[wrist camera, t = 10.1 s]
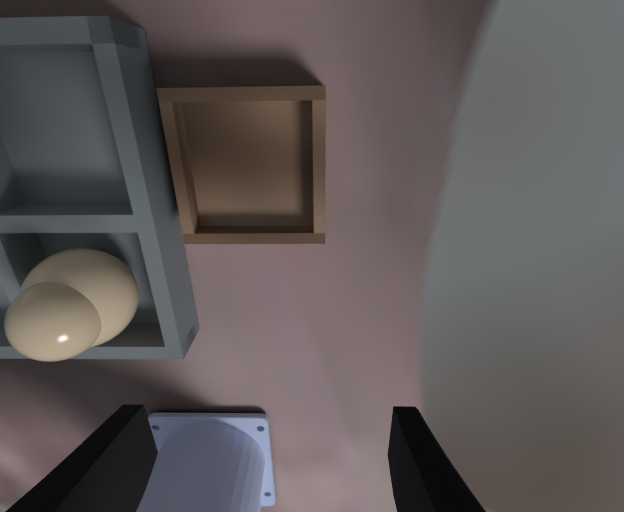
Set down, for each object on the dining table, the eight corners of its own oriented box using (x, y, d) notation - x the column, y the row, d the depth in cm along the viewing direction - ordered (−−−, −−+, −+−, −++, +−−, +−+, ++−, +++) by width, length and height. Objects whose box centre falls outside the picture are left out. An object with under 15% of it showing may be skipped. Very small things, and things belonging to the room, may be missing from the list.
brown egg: (162, 311, 19) (103, 391, 14) (80, 311, 19) (-9, 391, 14) (144, 233, 17) (68, 292, 12) (53, 233, 17) (-62, 293, 12)
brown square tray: (324, 228, 17) (325, 243, 16) (198, 228, 18) (184, 243, 16) (324, 86, 15) (325, 85, 13) (176, 89, 15) (156, 88, 13)
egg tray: (199, 328, 20) (183, 359, 18) (-48, 328, 21) (-95, 358, 18) (144, 29, 14) (108, 15, 12) (-208, 36, 14) (-312, 24, 12)
